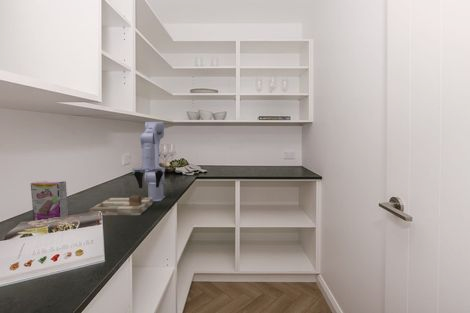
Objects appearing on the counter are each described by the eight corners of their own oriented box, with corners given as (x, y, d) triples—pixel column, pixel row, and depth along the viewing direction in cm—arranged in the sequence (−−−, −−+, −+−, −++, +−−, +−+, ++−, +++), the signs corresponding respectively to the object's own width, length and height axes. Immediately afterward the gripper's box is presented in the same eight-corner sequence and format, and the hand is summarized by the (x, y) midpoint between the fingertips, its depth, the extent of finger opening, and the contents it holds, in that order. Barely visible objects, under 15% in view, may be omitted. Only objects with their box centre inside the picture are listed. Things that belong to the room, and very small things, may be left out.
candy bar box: (32, 222, 95) (29, 183, 93) (42, 218, 100) (39, 180, 98) (60, 222, 95) (57, 182, 94) (69, 217, 100) (66, 180, 99)
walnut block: (133, 203, 110) (132, 195, 110) (141, 203, 110) (141, 195, 110) (129, 206, 106) (129, 197, 106) (138, 206, 106) (137, 197, 106)
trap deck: (110, 203, 121) (110, 197, 120) (153, 203, 121) (152, 197, 121) (89, 215, 103) (89, 209, 102) (140, 215, 103) (139, 208, 103)
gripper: (129, 158, 104) (129, 188, 103) (161, 157, 104) (162, 187, 104) (135, 159, 111) (136, 187, 110) (166, 158, 111) (166, 186, 111)
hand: (149, 187), depth 107 cm, fingers open, 7 cm apart
